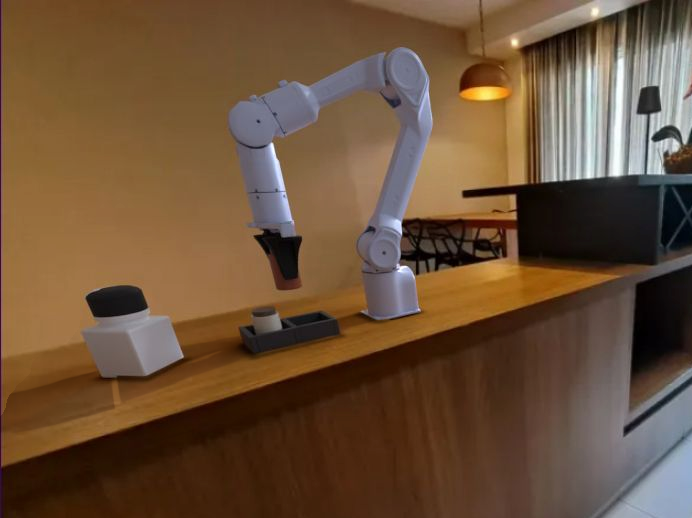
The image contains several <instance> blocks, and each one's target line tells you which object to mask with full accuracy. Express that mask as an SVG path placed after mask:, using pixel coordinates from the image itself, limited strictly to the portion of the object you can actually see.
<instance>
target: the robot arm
mask: <svg viewBox="0 0 692 518" xmlns="http://www.w3.org/2000/svg"><path fill="white" fill-rule="evenodd" d="M386 54H387V51H384V52H380V53H376V54H374V55H370V56H368V57H365V58H362V59H359V60H357V61H355V62H353V63H352V64H350V65H348V66H346V67H343V68H341V69H340V70H338V71H336V72H334V73H332V74H330V75H328V76H326V77H324V78H322V79H320V80H319V81H316V82H314V83H313V84H311V85H309V86H307V85H305V84H302V83H301V82H298V81H295V80H293V81H291V82H289V83H288V81H287V80H286V79H282V80H280V81H278V82H277V87H278V88H276V89H273V90H271V91H269V92H266V93H265V94H262V95H260V96H258V97H257V95H255V94H251V95H250V96H248V100H249V101H247V100H240V101H238V103H237V104H236V105H234V106H233V107H231V109H230V111H229V112H228V115H227V124H228V130H229V133H230V135H231V137H232V138H233V139H234V141H235V151H236V155H237V156H238V166H239V170H240V174H241V177H242V182H243V185H244V189H245V192H246V196H247V200H248V204H249V208H250V211H251V216H252V219H253V221H250V222H249V221H248V222H246V223H245V225H246V228H249V229H250V228H251V229H253V228H255V229H258V231H260V232H261V231H262V233H261V234H260V233H259V234H254V235H252V236H253V238H254V240H255V241H256V242H257V243H258V245H259V246H260V247H261V249H262V250H263V252H264V254H265V256H266V257H267V259H268V260H269V258H268V253H270V250H271V251H272V253H273V255H274V257H275V259H276V261H277V264H278V267H279V269H280V272H281V274H282V276H283V278H284V279H285V280H289V279H296V278H298V269H299V254H300V248H301V246H302V245H301V244H302V242H303V236H302V235H299V234H298V235H297V233H296V228H295V220H294V219H293V217H292V213H291V208H290V204H289V199H288V195H287V190H286V186H285V182H284V178H283V173H282V169H281V163H280V160H279V159H278V158H277V155H276V154H277V153H276V149H275V145H274V142H272V141H273V139H274V137H277V138H280V139H282V138H283V139H284V138H285V137H287V136H289V135H291V134H293V133H295V132H297V131H299V130H301V129H304V128H306V127H307V126H310V125H312V124H314V123H316V122H317V121H318V118H319V111H320V109H322V108H324V107H326V106H329V105H332V104H334V103H336V102H338V101H340V100H342V99H345V98H347V97H349V96H352V95H354V94H356V93H359V92H363V93H366V94H369V95H372V96H375V95H377V94H379V95H380V96H381V98H382V99H383V100H384V101H385V103H387V105H388V106H389V107H390V108H391V109H392V110H393V112H394V115H395V116H396V119H397V120H398V122H399V125H400V127H399V131H398V135H397V137H396V141H395V144H394V147H393V151H392V153H391V156H390V160H389V163H388V167H387V170H386V174H385V177H384V179H383V183H382V186H381V189H380V192H379V196H378V199H377V202H376V206H375V208H374V212H373V213H372V215H371V216H370V218H369V220H368V222H367V224H366V227H365V229H364V231H363V232H362V233H360V234H359V235H358V237H357V239H356V242H355V248H356V253H357V255H358V256H359V257H360V258H361V259H362V260H363V262H362V265H361V267H360V270H361V272H360V273H361V279H362V285H363V289H364V296H365V301H366V308H367V309H364V310H361V311H359V312H360V313H361V314H364V315H366V316H368V317H370V318H372V319H373V320H377V321H380V320H384V319H387V320H392V319H396V318H400V317H404V316H408V315H412V314H418V313H421V308H419V302H418V301H419V299H418V291H417V283H416V278H415V275H414V272H413V270H412V269H411V268H410V267H409V266H407V265H401V264H400V263H399V262H400V261H401V255H402V252H401V239H402V236H403V229H402V223H403V219H404V216H405V213H406V210H407V207H408V204H409V200H410V197H411V195H412V191H413V188H414V185H415V182H416V179H417V175H418V173H419V170H420V166H421V164H422V160H423V157H424V155H425V151H426V148H427V145H428V142H429V139H430V136H431V133H432V129H433V115H432V108H431V101H430V94H429V89H430V77H429V74H428V73H427V71H426V69H425V67H424V64H423V62H422V59H420V57H419V56H418V55H417V54H416V53H415V52H414V51H413V50H411V49H410V48H407V47H402V46H401V47H396V48H394V49H392V50H391V51H390V52H389V53H388V55H387V56H386ZM385 56H386V57H385ZM269 248H270V249H269Z"/></svg>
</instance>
